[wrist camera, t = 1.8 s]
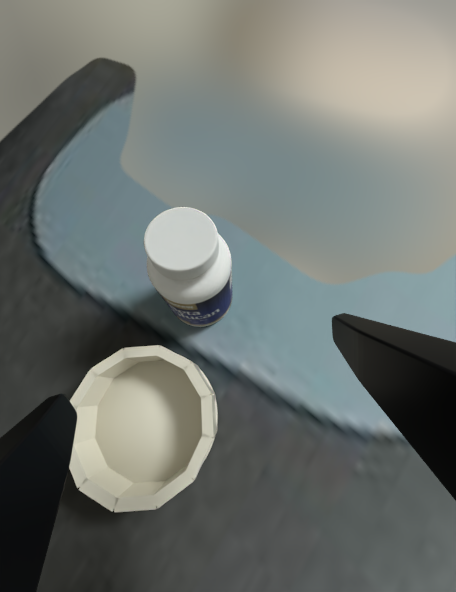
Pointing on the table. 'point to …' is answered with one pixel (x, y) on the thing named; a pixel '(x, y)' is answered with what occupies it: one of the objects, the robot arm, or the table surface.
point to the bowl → (141, 428)
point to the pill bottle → (189, 265)
